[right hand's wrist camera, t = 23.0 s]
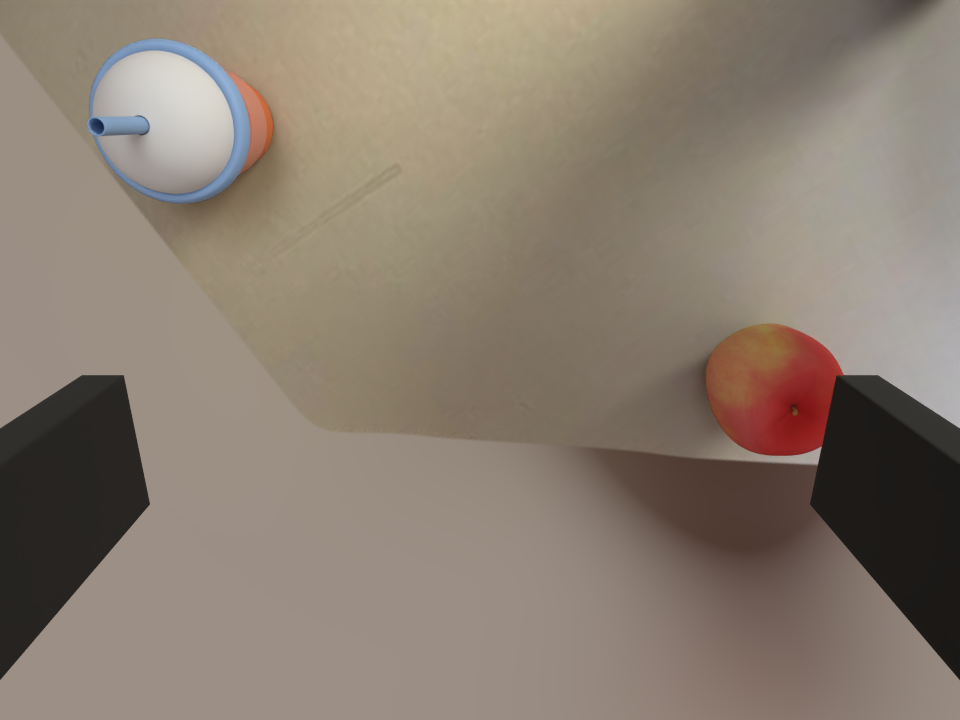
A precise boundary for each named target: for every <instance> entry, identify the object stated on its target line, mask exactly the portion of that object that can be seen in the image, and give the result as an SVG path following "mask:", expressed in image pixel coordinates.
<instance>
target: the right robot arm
mask: <svg viewBox="0 0 960 720" xmlns="http://www.w3.org/2000/svg"><path fill="white" fill-rule="evenodd" d="M149 505H150V502H149V498H148V492H147V487H146V483H145V478H144V473H143V468H142V463H141V458H140V453H139V448H138V443H137V438H136V434H135V429H134V424H133V419H132V414H131V409H130V404H129V399H128V394H127V389H126V384H125V380H124V376H123V375H82V376H80V377H79V378H77V379H76V380H74V381H73V382H71V383H70V384H68V385H66V386H65V387H63V388H62V389H60V390H59V391H57V392H56V393H54V394H53V395H51V396H50V397H48V398H46V399H45V400H43V401H42V402H40V403H39V404H37V405H36V406H34V407H33V408H31V409H30V410H28V411H26V412H25V413H23V414H22V415H20V416H19V417H17V418H16V419H14V420H13V421H11V422H10V423H8V424H6V425H5V426H3V427H2V428H0V679H1V678H2V677H3V676H4V675H5V674H6V672H7V671H8V670H9V669H10V668H11V667H12V665H13V664H14V663H15V662H16V661H17V660H18V658H19V657H20V656H21V655H22V654H23V653H24V651H25V650H26V649H27V648H28V647H29V646H30V644H31V643H32V642H33V641H34V640H35V638H36V637H37V636H38V635H39V634H40V633H41V631H42V630H43V629H44V628H45V627H46V626H47V624H48V623H49V622H50V621H51V620H52V619H53V617H54V616H55V615H56V614H57V613H58V612H59V610H60V609H61V608H62V607H63V606H64V604H65V603H66V602H67V601H68V600H69V599H70V597H71V596H72V595H73V594H74V593H75V592H76V590H77V589H78V588H79V587H80V586H81V584H82V583H83V582H84V581H85V580H86V579H87V577H88V576H89V575H90V574H91V573H92V572H93V570H94V569H95V568H96V567H97V566H98V565H99V563H100V562H101V561H102V560H103V559H104V558H105V556H106V555H107V554H108V553H109V552H110V550H111V549H112V548H113V547H114V546H115V545H116V543H117V542H118V541H119V540H120V539H121V538H122V536H123V535H124V534H125V533H126V532H127V531H128V529H129V528H130V527H131V526H132V525H133V524H134V522H135V521H136V520H137V519H138V518H139V516H140V515H141V514H142V513H143V512H144V511H145V509H146V508H147V507H148V506H149ZM810 505H811V506H812V507H813V508H814V509H815V511H816V512H817V513H818V514H819V515H820V516H821V518H822V519H823V520H824V521H825V522H826V524H827V525H828V526H829V527H830V528H831V529H832V531H833V532H834V533H835V534H836V535H837V536H838V538H839V539H840V540H841V541H842V542H843V543H844V545H845V546H846V547H847V548H848V549H849V550H850V552H851V553H852V554H853V555H854V556H855V558H856V559H857V560H858V561H859V562H860V563H861V564H862V566H863V567H864V568H865V569H866V570H867V572H868V573H869V574H870V575H871V576H872V577H873V579H874V580H875V581H876V582H877V583H878V584H879V586H880V587H881V588H882V589H883V590H884V592H885V593H886V594H887V595H888V596H889V597H890V599H891V600H892V601H893V602H894V603H895V604H896V606H897V607H898V608H899V609H900V610H901V612H902V613H903V614H904V615H905V616H906V617H907V619H908V620H909V621H910V622H911V623H912V624H913V626H914V627H915V628H916V629H917V630H918V631H919V633H920V634H921V635H922V636H923V637H924V638H925V640H926V641H927V642H928V643H929V644H930V646H931V647H932V648H933V649H934V650H935V651H936V653H937V654H938V655H939V656H940V657H941V658H942V660H943V661H944V662H945V663H946V664H947V665H948V667H949V668H950V669H951V670H952V671H953V673H954V674H955V675H956V676H957V677H958V678H959V680H960V428H958V427H957V426H955V425H954V424H952V423H950V422H949V421H947V420H946V419H944V418H943V417H941V416H940V415H938V414H937V413H935V412H934V411H932V410H930V409H929V408H927V407H926V406H924V405H923V404H921V403H920V402H918V401H917V400H915V399H914V398H912V397H910V396H909V395H907V394H906V393H904V392H903V391H901V390H900V389H898V388H897V387H895V386H894V385H892V384H890V383H889V382H887V381H886V380H884V379H883V378H881V377H880V376H878V375H836V379H835V384H834V389H833V394H832V399H831V404H830V409H829V414H828V419H827V424H826V429H825V433H824V438H823V443H822V448H821V453H820V458H819V463H818V468H817V473H816V478H815V483H814V488H813V492H812V497H811V502H810Z"/></svg>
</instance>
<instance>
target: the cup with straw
mask: <svg viewBox="0 0 960 720" xmlns="http://www.w3.org/2000/svg"><path fill="white" fill-rule="evenodd" d="M89 117H90V118H89V119H88V121H87V128H88V130H89V132H90V133H91V134H93V136H94V139H95V141H96V144H97V146H98V148H99V150H100V152H101V154H102V156H103V157H104V159H105V160H106V162H107V163H108V165H109V166H110V167H111V168H112V170H113V171H114V172H115V173H116V174H117V175H118V176H119V177H120V178H121V179H122V180H123V181H125V182H126V183H127V184H128V185H130V186H131V187H132V188H134V189H135V190H137V191H139V192H140V193H142V194H144V195H146V196H149V197H151V198H154V199H156V200H160V201H164V202H169V203H177V204H189V203H196V202H200V201H204V200H207V199H210V198H212V197H214V196H216V195H218V194H219V193H221V192H222V191H224V190H225V189H226V188H227V187H229V186H230V185H231V184H232V183H233V181H234V180H235V179H236V178H237V176H238V175H239V174H240V173H242V172H244V171H246V170H247V169H248V168H250V167H251V166H252V165H253V164H254V163H255V162H256V161H257V160H258V159H260V158H261V157H262V156H263V155H264V153H265V152H266V151H267V149H268V147H269V145H270V143H271V139H272V134H273V121H272V116H271V113H270V110H269V108H268V105H267V104H266V102H265V100H264V99H263V97H262V96H261V95H260V94H259V93H258V92H257V91H256V90H255V89H254V88H253V87H252V86H250V85H249V84H247V83H245V82H244V81H243V80H242V79H241V78H239V77H238V76H236V75H235V74H233V73H231V72H229V71H227V70H225V69H223V68H222V67H221V66H220V65H219V64H218V63H217V62H216V61H214V60H213V59H212V58H211V57H209V56H208V55H206V54H205V53H203V52H202V51H200V50H198V49H196V48H194V47H192V46H190V45H187V44H185V43H181V42H178V41H174V40H168V39H147V40H141V41H137V42H134V43H131V44H129V45H126V46H125V47H123V48H121V49H119V50H118V51H116V52H115V53H114V54H112V55H111V56H110V57H109V58H108V59H107V60H106V62H105V63H104V64H103V65H102V67H101V68H100V70H99V71H98V73H97V75H96V77H95V80H94V82H93V85H92V89H91V93H90V99H89Z"/></svg>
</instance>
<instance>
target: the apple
mask: <svg viewBox="0 0 960 720" xmlns="http://www.w3.org/2000/svg"><path fill="white" fill-rule="evenodd" d="M836 375H843V373H842V370H841V368H840V366H839V364H838V362H837V361H836V359H835V358H834V356H833V355H832V354H831V353H830V351H829V350H828V349H827V348H826V347H824V346H823V345H822V344H821V343H819V342H818V341H816V340H815V339H813V338H812V337H810V336H808V335H806V334H804V333H802V332H800V331H797V330H795V329H792V328H790V327H787V326H783V325H778V324H761V325H755V326H750V327H747V328H744V329H742V330H740V331H738V332H736V333H734V334H733V335H731V336H729V337H728V338H727V339H725V340H724V341H723V342H721V343H720V344H719V345H718V346H717V347H716V348H715V349H714V351H713V352H712V354H711V355H710V358H709V360H708V363H707V368H706V390H707V395H708V399H709V403H710V406H711V409H712V412H713V414H714V416H715V418H716V420H717V422H718V423H719V425H720V426H721V428H722V429H723V431H724V432H725V433H726V434H727V435H728V436H729V437H730V438H731V439H732V440H733V441H734V442H735V443H737V444H738V445H739V446H741V447H743V448H745V449H747V450H749V451H751V452H754V453H758V454H763V455H771V456H790V455H799V454H804V453H807V452H810V451H813V450H815V449H817V448H819V447H821V446H822V443H823V438H824V433H825V429H826V424H827V419H828V414H829V409H830V404H831V399H832V394H833V389H834V384H835V379H836Z"/></svg>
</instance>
